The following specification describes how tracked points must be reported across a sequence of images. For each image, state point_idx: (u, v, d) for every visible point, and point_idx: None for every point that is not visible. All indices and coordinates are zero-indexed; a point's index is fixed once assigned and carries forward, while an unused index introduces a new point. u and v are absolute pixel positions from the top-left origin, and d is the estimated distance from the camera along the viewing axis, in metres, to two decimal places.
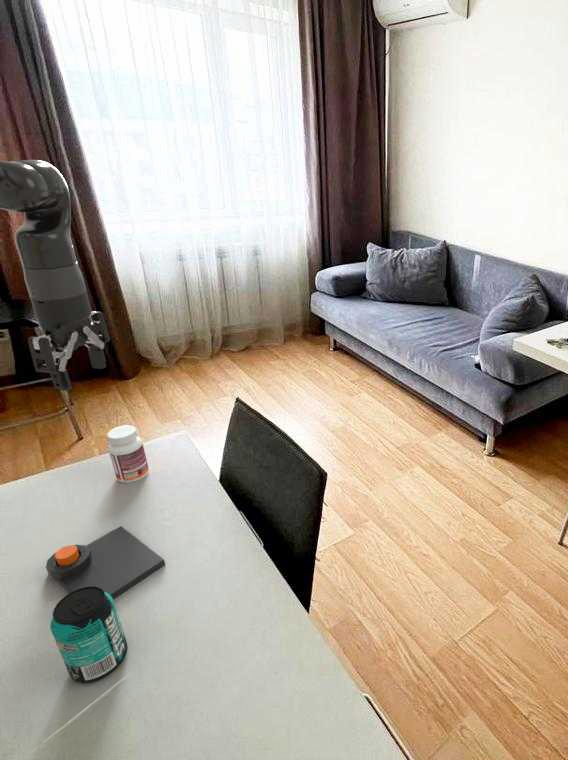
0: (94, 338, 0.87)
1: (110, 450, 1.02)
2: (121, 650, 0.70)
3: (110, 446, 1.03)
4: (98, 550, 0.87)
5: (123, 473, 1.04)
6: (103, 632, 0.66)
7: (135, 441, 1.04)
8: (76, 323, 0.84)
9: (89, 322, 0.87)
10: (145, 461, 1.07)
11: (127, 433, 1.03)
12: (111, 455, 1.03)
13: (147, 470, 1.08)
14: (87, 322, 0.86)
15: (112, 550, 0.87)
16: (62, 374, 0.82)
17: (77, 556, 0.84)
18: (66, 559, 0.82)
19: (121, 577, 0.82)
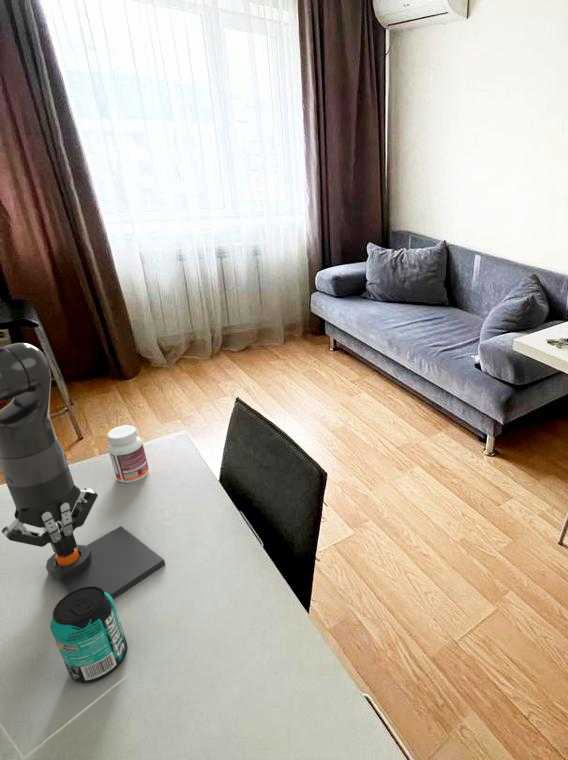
0: (65, 520, 0.80)
1: (110, 450, 1.02)
2: (121, 650, 0.70)
3: (110, 446, 1.03)
4: (98, 550, 0.87)
5: (123, 473, 1.04)
6: (103, 632, 0.66)
7: (135, 441, 1.04)
8: None
9: (76, 494, 0.81)
10: (145, 461, 1.07)
11: (127, 433, 1.03)
12: (111, 455, 1.03)
13: (147, 470, 1.08)
14: (73, 495, 0.80)
15: (112, 550, 0.87)
16: (58, 543, 0.81)
17: (77, 557, 0.84)
18: (66, 560, 0.82)
19: (121, 577, 0.82)
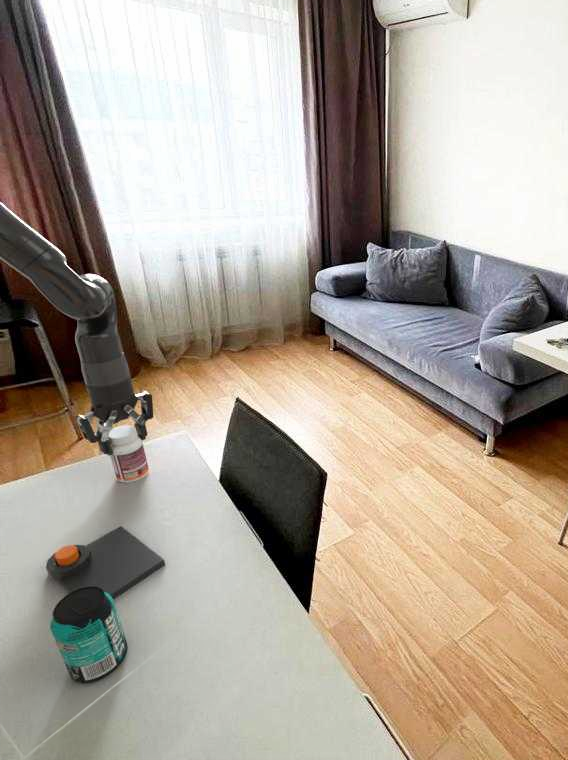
0: (134, 416, 1.03)
1: None
2: (121, 650, 0.70)
3: None
4: (98, 550, 0.87)
5: (123, 473, 1.04)
6: (103, 632, 0.66)
7: (135, 441, 1.04)
8: (120, 402, 1.00)
9: (135, 400, 1.03)
10: (145, 461, 1.07)
11: (127, 433, 1.03)
12: (111, 455, 1.03)
13: (147, 470, 1.08)
14: (132, 400, 1.02)
15: (112, 550, 0.87)
16: (105, 443, 1.00)
17: (77, 556, 0.84)
18: (66, 559, 0.82)
19: (121, 577, 0.82)
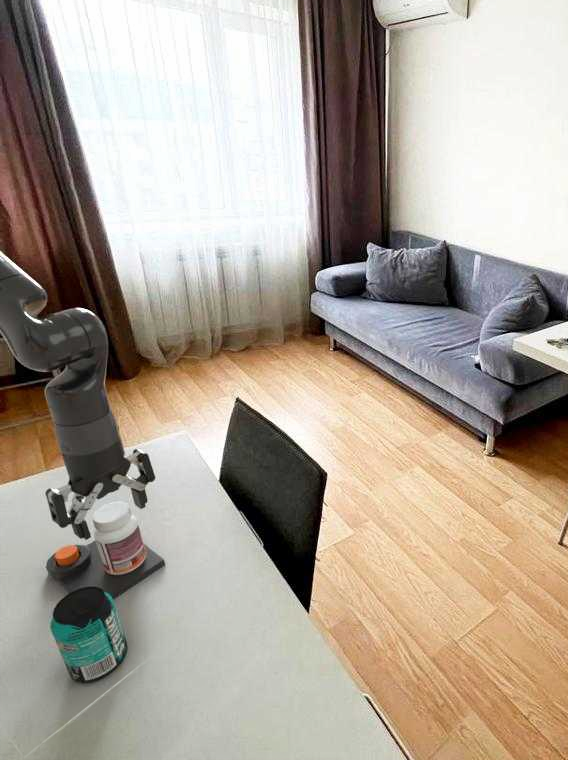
0: (128, 483, 0.80)
1: (96, 537, 0.79)
2: (121, 650, 0.70)
3: (96, 531, 0.80)
4: (98, 550, 0.87)
5: (113, 564, 0.81)
6: (103, 632, 0.66)
7: (128, 523, 0.82)
8: None
9: (126, 466, 0.79)
10: (141, 546, 0.85)
11: (118, 515, 0.80)
12: (97, 543, 0.80)
13: (144, 556, 0.85)
14: (123, 467, 0.79)
15: None
16: (80, 525, 0.76)
17: (77, 556, 0.84)
18: (66, 559, 0.82)
19: (121, 577, 0.82)
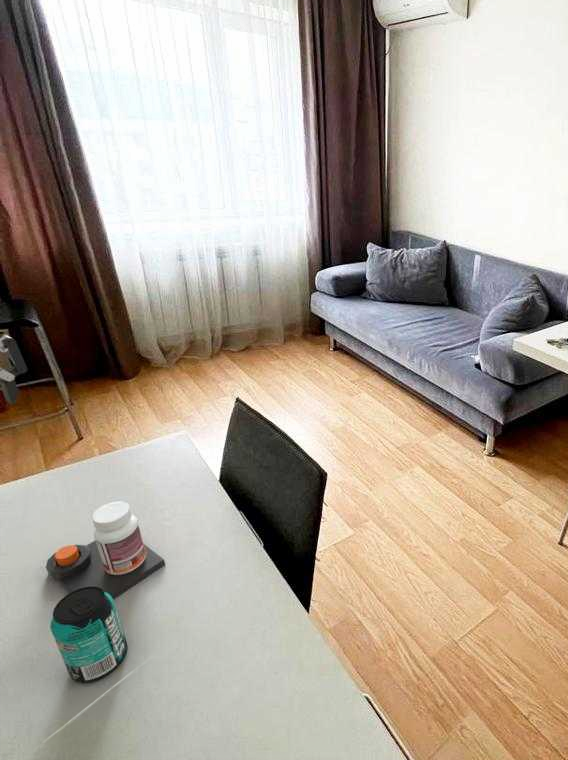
0: None
1: (96, 537, 0.79)
2: (121, 650, 0.70)
3: (96, 531, 0.80)
4: (98, 550, 0.87)
5: (113, 564, 0.81)
6: (103, 632, 0.66)
7: (128, 523, 0.82)
8: None
9: None
10: (141, 546, 0.85)
11: (118, 514, 0.80)
12: (97, 543, 0.80)
13: (144, 556, 0.85)
14: None
15: None
16: None
17: (77, 556, 0.84)
18: (66, 559, 0.82)
19: (121, 577, 0.82)
